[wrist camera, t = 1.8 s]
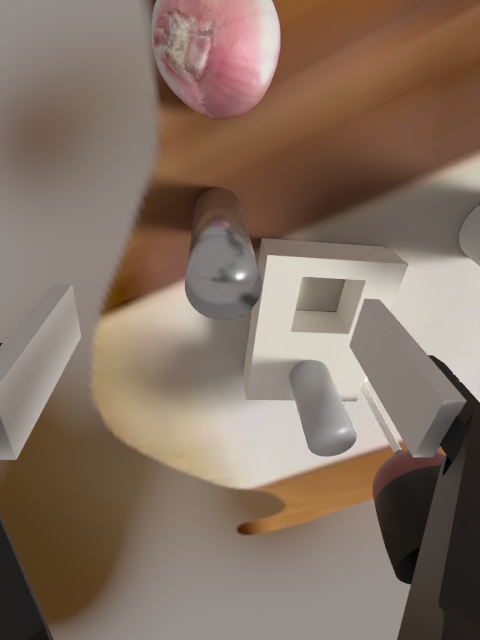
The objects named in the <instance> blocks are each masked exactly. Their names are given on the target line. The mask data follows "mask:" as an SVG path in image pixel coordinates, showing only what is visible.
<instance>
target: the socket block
mask: <svg viewBox="0 0 480 640" xmlns="http://www.w3.org/2000/svg"><path fill="white" fill-rule="evenodd" d="M407 266H408V264H407V263H406V262H405V261H404V260H402V259H401V258H400V257H399V256H398V255H397V254H395V253H394V252H393V251H392V250H391V249H390V248H388V247H381V246H367V245H353V244H338V243H324V242H310V241H296V240H282V239H268V238H261V245H260V252H259V260H258V268H259V272H260V276H261V280H262V290H261V294H260V297H259V299H258V301H257V303H256V304H255V305H254V307H253V308H252V312H251V319H250V327H249V334H248V342H247V349H246V356H245V364H244V371H243V377H244V385H245V394H246V399H250V400H295V402H296V405H297V409H298V412H299V416H300V419H301V423H302V427H303V430H304V434H305V437H306V441H307V444H308V448H309V449H310V451H311V452H312V453H314V454H316V455H319V456H335V455H338V454H341V453H343V452H345V451H347V450H348V449H349V448H351V447H352V446H353V444H354V443H355V441H356V433H355V430H354V428H353V426H352V423H351V421H350V419H349V416H348V414H347V412H346V410H345V407H344V405H343V403H342V401H357V398H358V395H359V393H360V390H361V388H362V385H363V382H364V380H365V377H366V374H365V373H364V371H363V369H362V367H361V366H360V364H359V362H358V361H357V359H356V357H355V355H354V354H353V352H352V350H351V348H350V347H349V345H350V342H351V339H352V336H353V332H354V329H355V326H356V323H357V320H358V317H359V314H360V311H361V307H362V304H363V301H364V299H380V300H381V302H382V303H383V304H384V305H385V306H386V307H387V309H388V310H389V311H391V308H392V306H393V303H394V300H395V298H396V295H397V292H398V290H399V287H400V284H401V282H402V279H403V277H404V274H405V271H406V269H407ZM302 277H317V278H334V279H345V282H344V286H343V290H342V293H341V297H340V300H339V304H338V307H337V311H336V312H324V311H303V310H295V309H296V304H297V300H298V295H299V290H300V286H301V281H302Z"/></svg>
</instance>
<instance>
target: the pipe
mask: <svg viewBox="0 0 480 640" xmlns="http://www.w3.org/2000/svg"><path fill="white" fill-rule="evenodd" d="M261 290H262V280H261V276H260V272H259V268H258V265H257V261H256V258H255V254H254V251H253V247H252V243H251V240H250V236H249V233H248V229H247V226H246V222H245V218H244V215H243V211H242V208H241V204H240V202H239V200H238V198H237V197H236V196H235V194H233V193H232V192H231V191H229V190H227V189H224V188H212V189H209V190H207V191H205V192H204V193H202V194H201V195H200V197H199V198H198V200H197V202H196V205H195V211H194V219H193V226H192V234H191V242H190V249H189V257H188V265H187V272H186V280H185V291H186V295H187V298H188V300H189V302H190V303H191V305H192V306H193V307H194V308H195V309H196V310H197V311H198V312H199V313H201V314H203V315H205V316H207V317H209V318H213V319H218V320H228V319H233V318H237V317H240V316H242V315H244V314H245V313H247V312H248V311H249V310H251V309H252V308H253V307H254V305H255V304H256V303H257V301H258V299H259V297H260V294H261Z"/></svg>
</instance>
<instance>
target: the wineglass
mask: <svg viewBox="0 0 480 640" xmlns="http://www.w3.org/2000/svg"><path fill="white" fill-rule="evenodd" d="M366 381H368V378H367V376H366V377H365V380H364V382H363V385H362V388H361V390H362V392H363V394H364V396H365V398H366V400H367V402H368V403H369V405H370V407H371V409H372V411H373V413H374V415H375V417H376V419H377V421H378V423H379V425H380V427H381V429H382V430H383V432H384V434H385V436H386V438H387V440H388V442H389V444H390V446H391V448H392V450H393V452H394V455H393V456H391V457H390V458H388V459H387V460H386V461H385V462H384V463H383V465H382V466H381V467H380V468H379V470H378V471H377V473H376V475H375V478H374V482H373V497H374V502H375V507H376V512H377V517H378V521H379V525H380V528H381V533H382V537H383V541H384V544H385V547H386V550H387V553H388V556H389V558H390V561H391V564H392V566H393V569H394V572H395V574H396V577H397V578H398V579H399V580H400V581H402V582H404V583H407V584H411V583H412V579H413V575H414V571H415V567H416V563H417V559H418V555H419V551H420V547H421V543H422V540H423V536H424V532H425V528H426V524H427V520H428V516H429V512H430V508H431V504H432V500H433V496H434V492H435V488H436V484H437V480H438V476H439V475H438V476H437V477H436V476H434V474H435V472H436V471H437V469H438V467H439V466H440V464H441V463H442V461H443V459H444V458H445V455H444V454H442V453H440V452H436V453H435V455H434V457H413V456H412V455H411V453H410V451H409V449H408V450H402V449H401V447H400V445H399V444H398V442H397V440H396V438H395V436H394V434H393V433H392V431H391V429H390V427H389V425H388V423H387V422H386V420H385V418H384V416H383V414H382V412H381V410H380V409H379V407H378V405H377V403H376V401H375V399H374V398H373V396H372V394H371V392H370V390H369V388H368V387H367V385H366V383H365V382H366Z"/></svg>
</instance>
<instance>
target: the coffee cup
mask: <svg viewBox="0 0 480 640" xmlns="http://www.w3.org/2000/svg"><path fill="white" fill-rule="evenodd" d="M459 245H460V248H461V250H462V251H463V252H464V253H465V254H466V255H467V256H468V257H469V258H471V259H472V260H473V261H474V262H476V263H477V264H478V265H479V266H480V205H478V206H477V207H476V208H475V209H474V210H473V211H472V212H471V213H470V214H469V215H468V216H467V218H466V219H465V221H464V222H463V224H462V226H461V229H460V232H459Z"/></svg>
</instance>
